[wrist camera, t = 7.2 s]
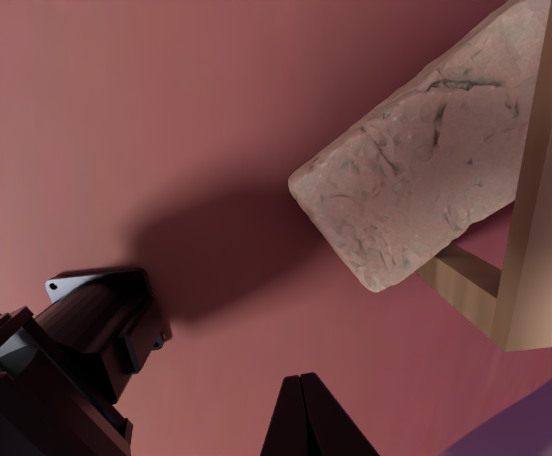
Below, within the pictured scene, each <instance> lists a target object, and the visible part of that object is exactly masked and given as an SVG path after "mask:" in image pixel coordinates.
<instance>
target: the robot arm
mask: <svg viewBox="0 0 552 456" xmlns="http://www.w3.org/2000/svg"><path fill="white" fill-rule="evenodd" d="M135 274H138V275H140V278H138V277H136V275H135ZM54 284H56V285H57V286H55V285H54ZM45 286H46V289H47V292H48V294H49V297H50V299H51V301H52V304H51V305H50V306H49V307H48V308H46V309H45V310H44V311H43V312H41V313H40V314H39V315H37V316H36V317H35V318H33V317H32V316H33V315H34V314H33V313H32V312H31V311H30V310H29V309H28V308H27V306H24V307H22V308H20V309H18V310H16V311H14V312H12V313H5V314H3V315H1V314H0V456H131V451H130V444H131V437H132V430H133V424H132V423H131V422H130V421H129V420H128V418H123V416H122V415H121V414H120V413H119V412H118V411H117V410H116V409H115V408H114V406H113V404H116V403H117V402H118V400H119V398H120V396H121V394H122V393H123V391H124V389H125V387H126V385H127V383H128V382H129V380H130V378H131V376H132V374H138V373H139V372H140V370H141V369H142V367H143V365H144V363H145V362H146V360H147V358H148V356H149V354H150V352H151V351H152V350H159V349H161V348H162V346H163V344H164V342H165V341H164V336H163V333H162V329H163V324H162V320H161V316H160V313H159V309H158V305H157V301H156V298H155V297H154V296H152V292H151V289H150V285H149V281H148V278H147V274H146V272H145V271H144V270H143V269H141V268H133V269H124V270H114V271H105V272H96V273H87V274H78V275H68V276H59V277H53V278H51V279H50V280H48V281H47V282H46V284H45ZM155 342H158V343H155ZM260 456H380V455H379V454H378V453H377V451H376V450H375V449H374V447H373V446H372V445H371V444H370V442H369V441H368V440H367V438H366V437H365V436H364V435H363V433H362V432H361V431H360V429H359V428H358V427H357V426H356V424H355V423H354V422H353V420H352V419H351V418H350V417H349V415H348V414H347V413H346V411H345V410H344V409H343V408H342V406H341V405H340V404H339V402H338V401H337V400H336V399H335V397H334V396H333V395H332V393H331V392H330V391H329V390H328V388H327V387H326V386H325V385H324V383H323V382H322V381H321V379H320V378H319V377H318V376H317V374H316V373H314V372H311V373H305V374H301V375H300V377H299V376H298V375H293V376H287V377H285V378H284V380H283V382H282V386H281V389H280V392H279V395H278V399H277V402H276V405H275V408H274V412H273V415H272V418H271V421H270V425H269V428H268V431H267V434H266V438H265V441H264V444H263V447H262V451H261V454H260Z"/></svg>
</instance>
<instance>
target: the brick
mask: <svg viewBox="0 0 552 456" xmlns="http://www.w3.org/2000/svg"><path fill="white" fill-rule="evenodd" d="M550 4H551V0H508V1H507V2H506V3H505V4H504V5H503V6H501V7H500V8H498V9H496V10H495V11H493V12H492V13H491V14H489V15H488V16H487V17H486V18H485V19H484V20H483V21H481V22H480V23H479V24H478V25H477V26H476V27H475V28H473V29H472V30H471V31H470V32H469V33H468V34H467V35H466V36H465V37H464V38H463V39H462V40H460V41H459V42H457V43H456V44H455V45H454V46H453V47H452V48H450V49H449V50H448V51H446V52H445V53H444V54H442V55H441V56H439V57H438V58H436V59H435V60H433V61H432V62H430V63H429V64H427V65H426V66H425V67H424V68H423V69H422V70H421V71H420V72H419V73H418V75H417V76H416V77H414V78H413V79H412V80H411V81H409V82H408V83H407V84H405V85H404V86H402V87H400V88H398V89H397V90H396V91H395V92H394V93H392V94H391V95H390V96H389V97H388V98H387V99H385V100H384V101H383V102H381V103H380V104H379V105H377V106H376V107H375V108H374V109H372V110H371V111H370V112H369V113H367V114H366V115H365V116H363V117H362V118H361V119H360V120H359V121H357V122H356V123H355V124H353V125H352V126H350V127H349V129H348V130H347V131H346V132H344V133H343V134H342V135H340V136H339V137H338V138H337V139H336V140H334V141H333V142H332V143H330V144H329V145H327V146H326V147H325V148H324V149H322V150H321V151H320V152H319V153H317V154H316V155H315V156H314V157H313V158H312V159H311V160H310V161H308V162H306V163H305V164H303V165H302V166H301V167H300V168H298V169H297V170H296V171H294V172H293V174H292V175H291V176H290V177H289V179H288V186H289V190H290V193H291V194H292V196H293V197H294V199H296V200H297V202H298V204H299V206H300V207H301V208H302V210H303V211H304V212H305V213H306V214H307V215H308V216H309V218H310V220H311V221H312V222H313V224H314V225H315V226H316V227H317V228H318V229H319V231H320V232H321V233H322V235H323V236H324V237H325V238H326V240H327V241H328V242H329V244H330V245H331V247H332V248H333V249H334V250H335V252H336V253H337V254H338V256H339V257H340V258H341V259H342V261H343V262H344V263H345V264H346V265H347V266H348V267H349V268H350V270H351V271H352V272H353V274H354V275H355V276H356V277H357V278H358V279H359V281H360V282H361V283H362V285H363V286H365V287H366V288H367V289H369V290H370V291H373V292H376V293H378V292H380V291H383V290H384V289H386V288H387V287H389V286H393V285H396V284H398V283H400V282H401V281H402V280H404V279H405V278H407V277H408V276H409V275H410V274H412V273H413V272H414V271H416V270H417V269H419V268H420V267H421V266H423V265H424V264H425V263H427V262H428V261H429V260H430V259H431V258H433V257H434V256H435V255H436V254H437V253H438V252H439V251H441V250H442V249H443V248H445V247H446V246H448V245H449V244H450V243H451V241H452V240H454V239H456V238H458V237H459V236H460V235H462V234H463V233H464V232H465V231H466V230H467V228H468V227H469V226H470V224H472V223H475V222H478V221H481V220H483V219H485V218H486V217H488V216H489V215H491V214H493V213H494V212H496V211H498V210H499V209H501V208H503V207H504V206H506V205H508V204H509V203H511V202H513V201H514V200H515V196H516V191H517V185H518V180H519V174H520V169H521V163H522V158H523V152H524V147H525V141H526V136H527V130H528V125H529V119H530V114H531V108H532V103H533V97H534V92H535V86H536V81H537V75H538V70H539V64H540V59H541V53H542V48H543V42H544V37H545V31H546V26H547V20H548V15H549V9H550Z"/></svg>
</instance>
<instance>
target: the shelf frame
mask: <svg viewBox="0 0 552 456" xmlns="http://www.w3.org/2000/svg"><path fill="white" fill-rule="evenodd" d="M414 273H416V274H417V275H418V276H419V277H420V278H421V279H422V280H424V281H425V282H426V283H427V284H428V285H429V286H430V287H432V288H433V289H434V290H435V291H436V292H437V293H438V294H439V295H441V296H442V297H443V298H444V299H445V300H446V301H447V302H449V303H450V304H451V305H452V306H453V307H454V308H455V309H457V310H458V311H459V312H460V313H461V314H462V315H463V316H464V317H466V318H467V319H468V320H469V321H470V322H471V323H472V324H474V325H475V326H476V327H477V328H478V329H479V330H480V331H482V332H483V333H484V334H485V335H486V336H487V337H488V338H490V339H491V340H492V341H493V342H494V343H495V344H496V345H497V346H499V347H500V348H501V349H502V350H503V351H504V352H511V351H519V350H528V349H537V348H545V347H552V0H551V4H550V9H549V15H548V20H547V26H546V31H545V37H544V42H543V48H542V53H541V59H540V64H539V70H538V75H537V81H536V86H535V92H534V97H533V103H532V108H531V114H530V119H529V125H528V130H527V136H526V141H525V147H524V152H523V158H522V163H521V169H520V174H519V180H518V185H517V191H516V196H515V202H514V207H513V213H512V218H511V224H510V229H509V235H508V240H507V246H506V251H505V257H504V262H503V268H502V270H500V269H498V268H496V267H495V266H493V265H491V264H489V263H487V262H486V261H484V260H482V259H480V258H478V257H476V256H475V255H473V254H471V253H469V252H467V251H466V250H464V249H462V248H460V247H458V246H456V245H455V244H453V243H450V244H449V245H448V246H446V247H445V248H443V249H442V250H441V251H439V252H438V253H437V254H436V255H435V256H434V257H433V258H431V259H430V260H429V261H428V262H427V263H425V264H424V265H423V266H421V267H420V268H419V269H417V270H416V271H414Z"/></svg>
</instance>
